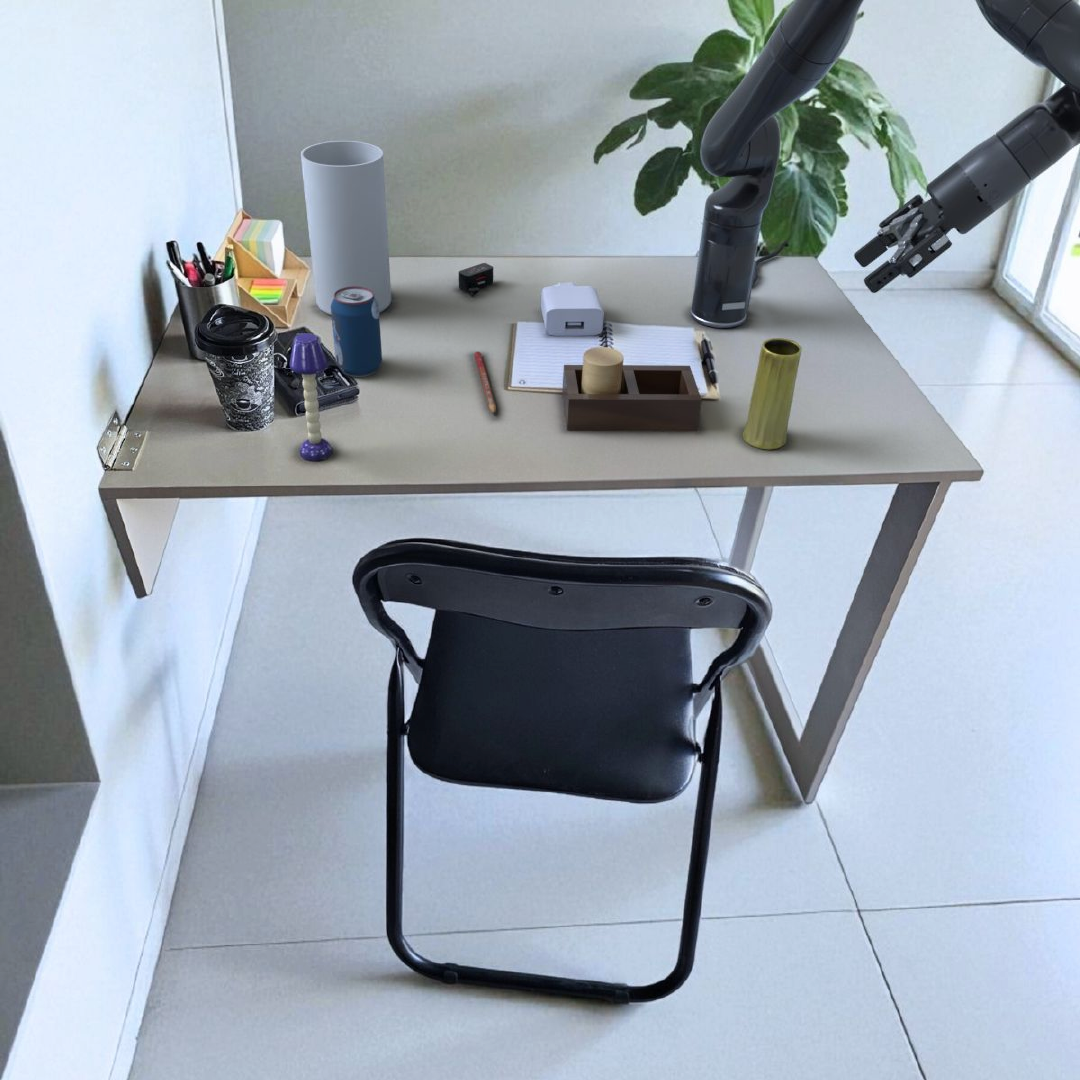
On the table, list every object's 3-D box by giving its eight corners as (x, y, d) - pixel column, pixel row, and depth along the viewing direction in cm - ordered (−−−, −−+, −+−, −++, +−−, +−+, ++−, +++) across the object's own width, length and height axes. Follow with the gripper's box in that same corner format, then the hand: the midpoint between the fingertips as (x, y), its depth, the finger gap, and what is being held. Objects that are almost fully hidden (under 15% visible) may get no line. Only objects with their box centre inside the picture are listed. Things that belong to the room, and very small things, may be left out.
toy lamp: (302, 442, 141) (288, 329, 131) (336, 441, 142) (326, 329, 132) (298, 461, 138) (284, 347, 127) (334, 461, 138) (322, 346, 128)
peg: (596, 398, 154) (600, 343, 148) (626, 412, 151) (631, 356, 145) (571, 412, 150) (575, 355, 145) (601, 426, 147) (606, 369, 142)
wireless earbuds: (453, 290, 182) (453, 272, 180) (484, 279, 186) (484, 262, 184) (471, 299, 179) (471, 281, 177) (501, 288, 183) (502, 270, 181)
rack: (562, 394, 154) (563, 364, 151) (685, 395, 155) (690, 365, 152) (566, 430, 146) (568, 399, 143) (697, 430, 147) (701, 399, 144)
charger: (590, 296, 182) (602, 335, 170) (537, 296, 181) (545, 336, 169) (591, 270, 179) (604, 308, 167) (538, 270, 178) (546, 309, 166)
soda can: (391, 364, 160) (387, 290, 152) (366, 383, 155) (361, 308, 147) (352, 353, 162) (346, 280, 155) (327, 372, 157) (320, 298, 150)
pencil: (474, 356, 163) (474, 351, 162) (480, 356, 163) (480, 350, 163) (491, 419, 148) (491, 413, 148) (498, 418, 148) (498, 412, 148)
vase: (789, 432, 148) (808, 340, 139) (782, 454, 143) (802, 360, 135) (746, 423, 149) (762, 332, 141) (738, 445, 145) (755, 352, 136)
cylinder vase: (335, 284, 182) (322, 137, 167) (402, 294, 180) (395, 146, 164) (303, 313, 172) (286, 160, 157) (374, 325, 170) (363, 170, 155)
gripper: (947, 144, 128) (837, 233, 136) (974, 179, 117) (852, 274, 124) (981, 189, 131) (871, 274, 139) (1011, 227, 119) (889, 317, 127)
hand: (862, 274), depth 131 cm, fingers open, 8 cm apart
